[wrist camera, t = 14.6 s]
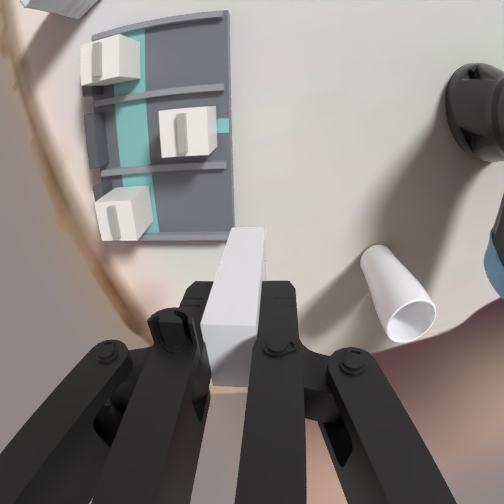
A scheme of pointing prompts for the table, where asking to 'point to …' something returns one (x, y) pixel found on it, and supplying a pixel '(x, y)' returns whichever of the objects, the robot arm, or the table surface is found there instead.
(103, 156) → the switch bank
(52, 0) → the supplement box
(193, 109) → the white block with ridge
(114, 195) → the switch slider
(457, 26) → the table surface
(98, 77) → the white block
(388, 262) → the drinking glass
